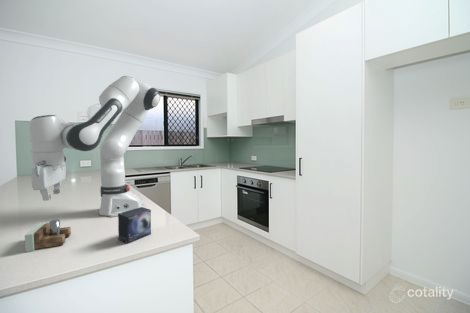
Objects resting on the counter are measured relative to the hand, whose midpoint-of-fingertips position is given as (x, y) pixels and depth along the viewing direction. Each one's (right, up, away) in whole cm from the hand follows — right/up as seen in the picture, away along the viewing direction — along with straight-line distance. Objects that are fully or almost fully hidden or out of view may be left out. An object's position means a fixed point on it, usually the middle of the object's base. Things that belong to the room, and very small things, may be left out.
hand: (52, 196), depth 82 cm
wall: (-5, -17, -1) cm, 18 cm away
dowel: (0, -17, +1) cm, 17 cm away
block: (0, -17, +1) cm, 17 cm away
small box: (+28, -17, +5) cm, 34 cm away
